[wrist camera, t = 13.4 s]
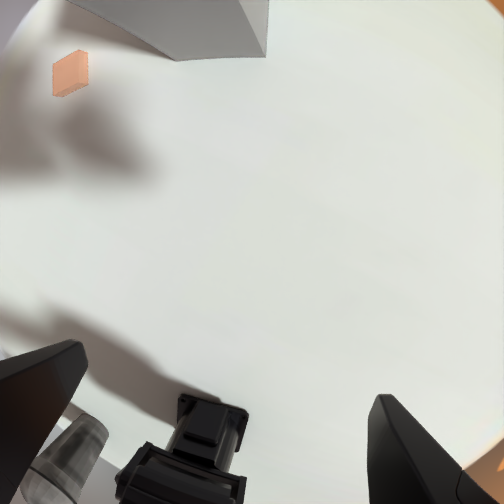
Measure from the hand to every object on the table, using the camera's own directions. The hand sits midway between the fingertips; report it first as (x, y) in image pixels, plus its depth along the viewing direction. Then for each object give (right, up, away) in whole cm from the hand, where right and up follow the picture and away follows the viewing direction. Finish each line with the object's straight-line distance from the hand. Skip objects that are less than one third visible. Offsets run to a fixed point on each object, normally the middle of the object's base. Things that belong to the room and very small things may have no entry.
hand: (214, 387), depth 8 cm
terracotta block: (-13, +18, +11) cm, 25 cm away
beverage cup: (-19, -18, +23) cm, 35 cm away
